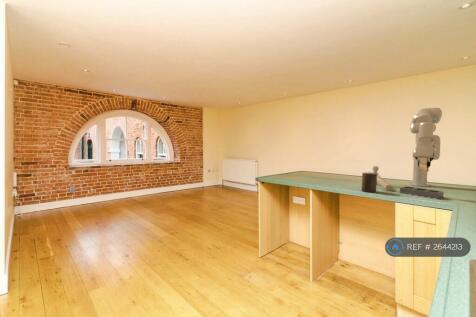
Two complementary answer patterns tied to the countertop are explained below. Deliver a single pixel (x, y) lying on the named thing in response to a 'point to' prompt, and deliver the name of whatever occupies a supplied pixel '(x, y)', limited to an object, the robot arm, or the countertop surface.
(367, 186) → the pillar candle
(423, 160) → the peg
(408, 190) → the rail
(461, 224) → the countertop surface
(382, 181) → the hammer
